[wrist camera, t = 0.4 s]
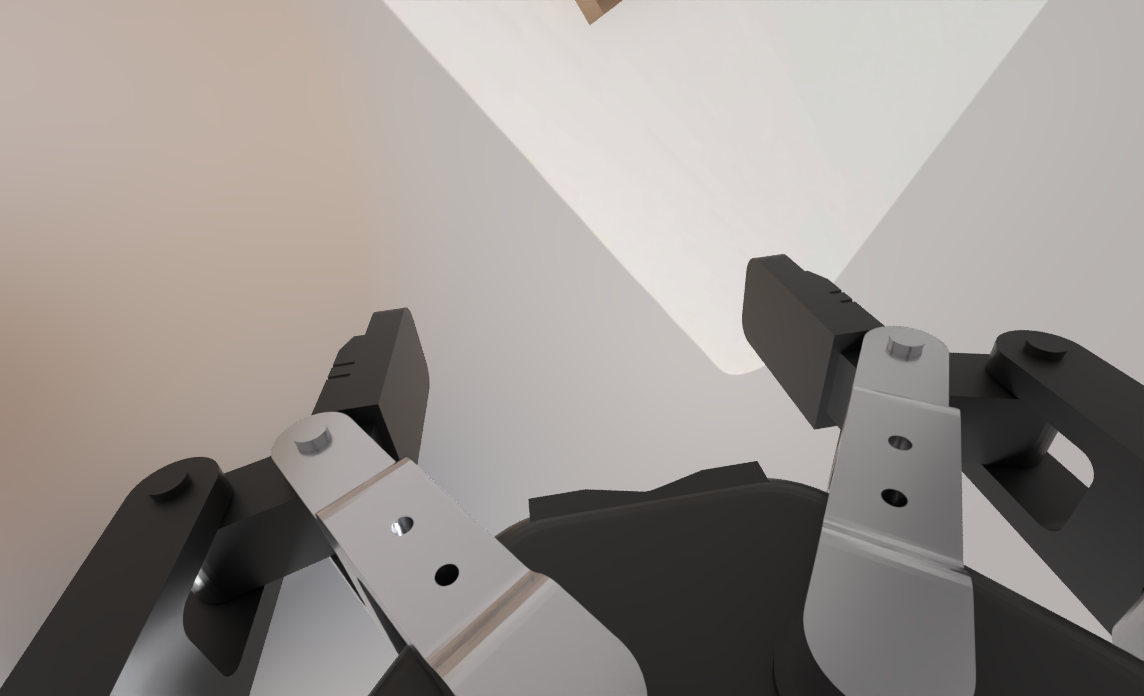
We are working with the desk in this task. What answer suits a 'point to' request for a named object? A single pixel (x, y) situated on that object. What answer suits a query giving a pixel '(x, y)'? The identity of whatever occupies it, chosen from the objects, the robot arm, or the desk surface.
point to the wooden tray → (595, 8)
